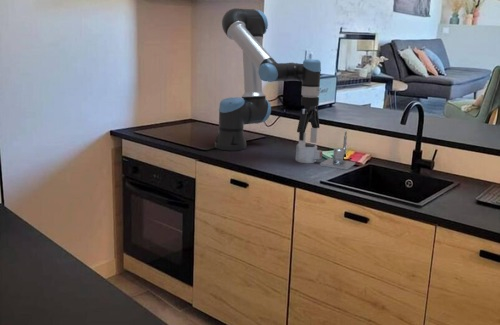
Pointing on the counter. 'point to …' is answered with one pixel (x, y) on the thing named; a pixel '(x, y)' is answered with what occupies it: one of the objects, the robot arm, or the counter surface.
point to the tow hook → (345, 143)
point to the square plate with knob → (338, 160)
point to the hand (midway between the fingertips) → (307, 145)
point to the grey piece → (308, 153)
